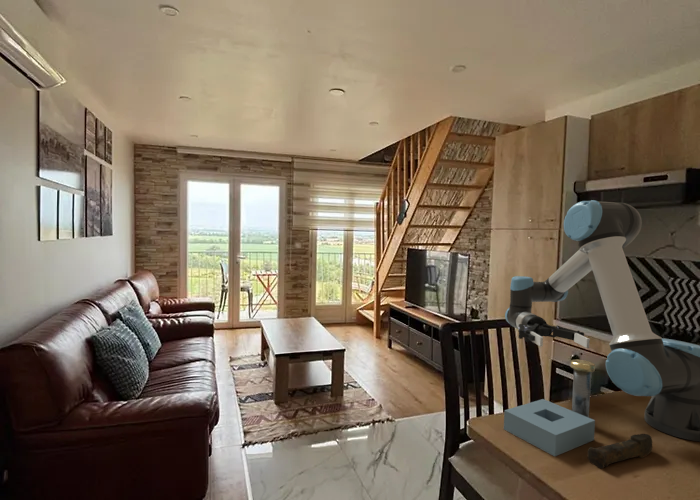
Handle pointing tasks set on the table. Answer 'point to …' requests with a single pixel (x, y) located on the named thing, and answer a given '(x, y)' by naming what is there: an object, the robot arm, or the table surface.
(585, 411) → the pin
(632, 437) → the dark brown wooden club
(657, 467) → the table surface
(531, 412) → the socket block
